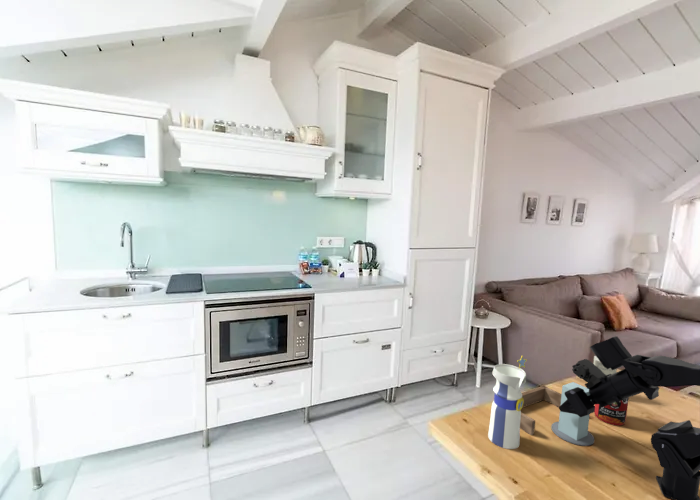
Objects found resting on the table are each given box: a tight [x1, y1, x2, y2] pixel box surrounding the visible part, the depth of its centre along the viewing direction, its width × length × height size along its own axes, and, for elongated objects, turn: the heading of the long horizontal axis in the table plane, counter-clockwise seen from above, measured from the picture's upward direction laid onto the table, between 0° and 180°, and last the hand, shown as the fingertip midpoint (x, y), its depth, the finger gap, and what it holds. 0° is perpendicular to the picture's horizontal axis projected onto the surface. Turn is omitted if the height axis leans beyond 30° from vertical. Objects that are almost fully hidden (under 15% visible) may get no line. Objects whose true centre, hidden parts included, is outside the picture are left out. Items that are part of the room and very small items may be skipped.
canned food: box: [593, 397, 630, 427], centre depth 102 cm, size 8×8×11 cm
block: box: [558, 381, 591, 440], centre depth 94 cm, size 5×5×13 cm
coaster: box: [550, 421, 595, 447], centre depth 95 cm, size 10×10×1 cm
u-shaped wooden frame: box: [520, 385, 562, 436], centre depth 104 cm, size 11×22×4 cm, turn 118°
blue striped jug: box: [487, 355, 528, 450], centre depth 90 cm, size 8×9×25 cm
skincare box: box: [593, 355, 618, 375], centre depth 117 cm, size 6×4×12 cm
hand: (569, 405), depth 95 cm, fingers open, 9 cm apart
